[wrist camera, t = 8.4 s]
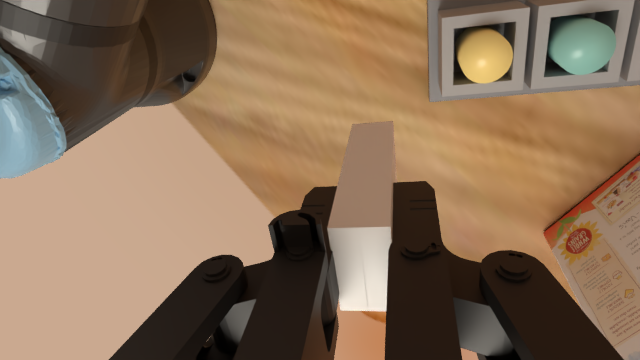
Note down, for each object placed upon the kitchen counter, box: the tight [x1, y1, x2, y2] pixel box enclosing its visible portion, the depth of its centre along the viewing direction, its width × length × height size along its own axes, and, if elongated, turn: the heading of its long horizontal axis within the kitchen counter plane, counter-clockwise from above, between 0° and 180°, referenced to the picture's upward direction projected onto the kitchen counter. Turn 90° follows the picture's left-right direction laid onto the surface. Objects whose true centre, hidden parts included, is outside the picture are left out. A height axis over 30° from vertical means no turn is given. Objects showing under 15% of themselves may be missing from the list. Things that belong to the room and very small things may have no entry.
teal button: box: [546, 14, 616, 75], centre depth 33 cm, size 4×4×4 cm
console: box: [427, 0, 640, 102], centre depth 34 cm, size 22×10×5 cm, turn 98°
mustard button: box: [454, 25, 513, 83], centre depth 34 cm, size 4×4×4 cm
